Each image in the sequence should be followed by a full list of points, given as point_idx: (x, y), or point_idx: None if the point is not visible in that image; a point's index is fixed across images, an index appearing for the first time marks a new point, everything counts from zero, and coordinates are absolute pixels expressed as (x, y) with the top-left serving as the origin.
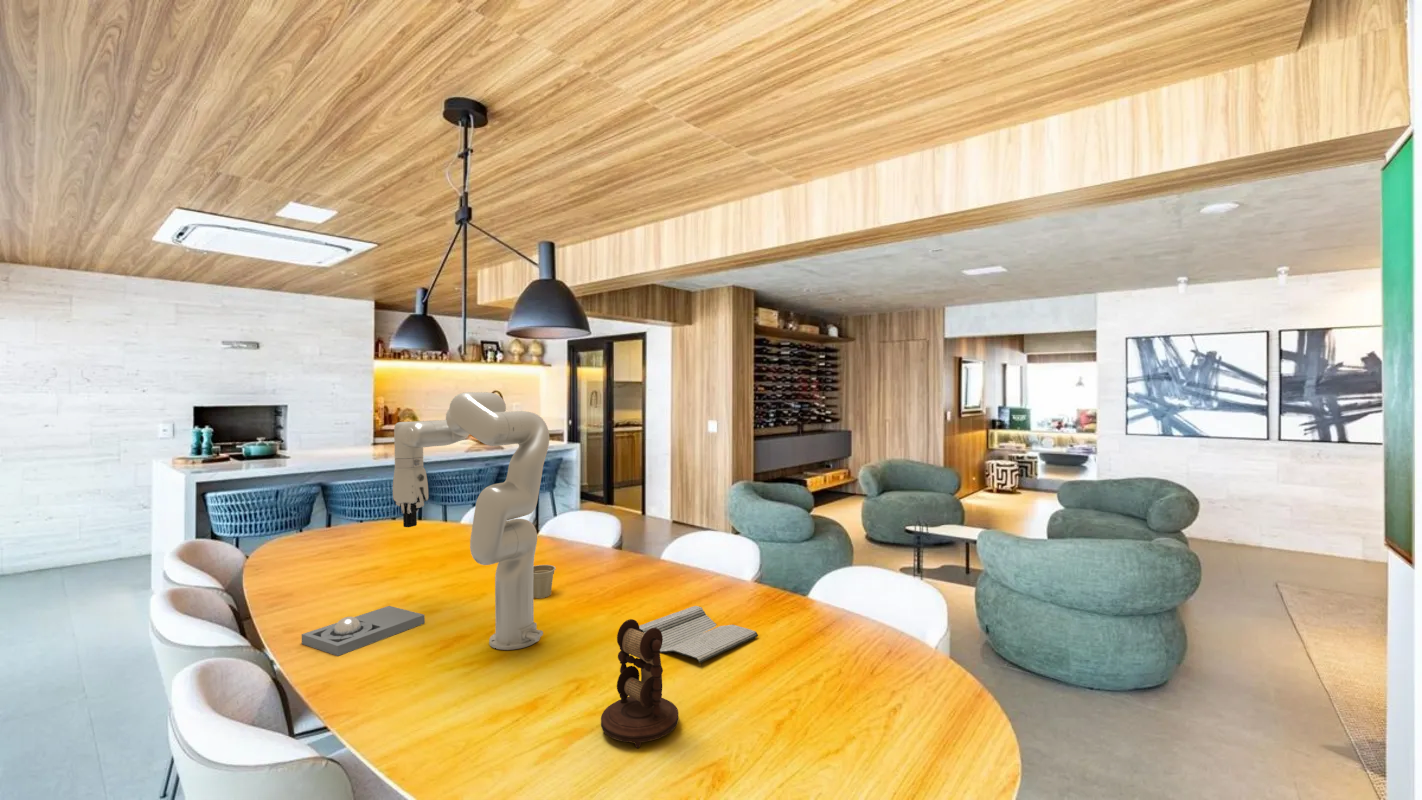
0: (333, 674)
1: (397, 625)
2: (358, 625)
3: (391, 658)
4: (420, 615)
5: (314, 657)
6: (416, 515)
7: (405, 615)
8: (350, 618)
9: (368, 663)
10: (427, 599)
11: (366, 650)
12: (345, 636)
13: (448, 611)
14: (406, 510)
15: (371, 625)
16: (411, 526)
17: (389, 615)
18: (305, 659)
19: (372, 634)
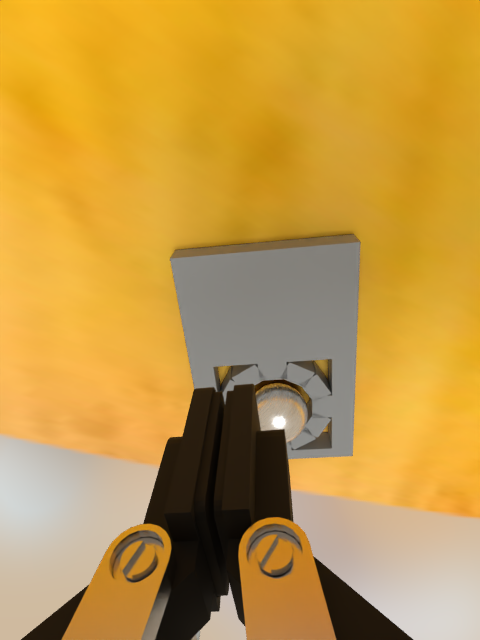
0: (423, 474)
1: (356, 327)
2: (303, 405)
3: (473, 395)
4: (354, 253)
5: (309, 460)
6: (250, 466)
7: (308, 278)
8: (289, 429)
9: (445, 427)
10: (123, 75)
11: (377, 400)
12: (311, 426)
13: (326, 114)
14: (197, 630)
15: (296, 366)
16: (259, 428)
17: (263, 303)
18: (303, 470)
19: (354, 389)
